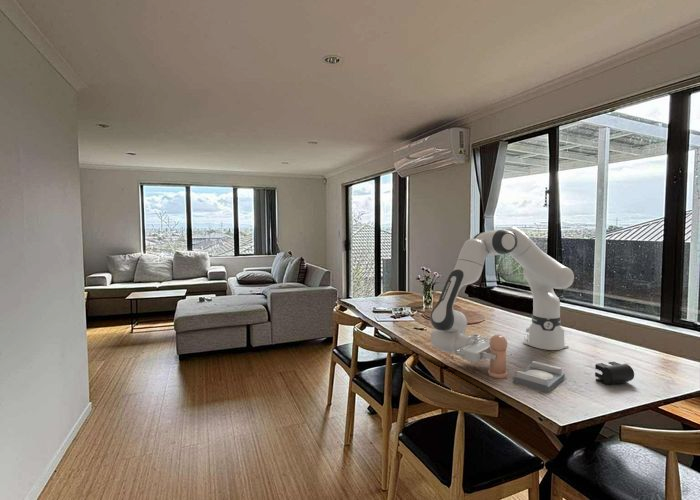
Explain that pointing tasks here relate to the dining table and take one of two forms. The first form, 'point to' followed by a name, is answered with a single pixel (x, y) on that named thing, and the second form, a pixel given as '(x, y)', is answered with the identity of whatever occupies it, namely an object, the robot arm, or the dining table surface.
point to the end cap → (614, 373)
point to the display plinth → (540, 376)
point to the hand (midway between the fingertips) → (500, 354)
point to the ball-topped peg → (498, 357)
